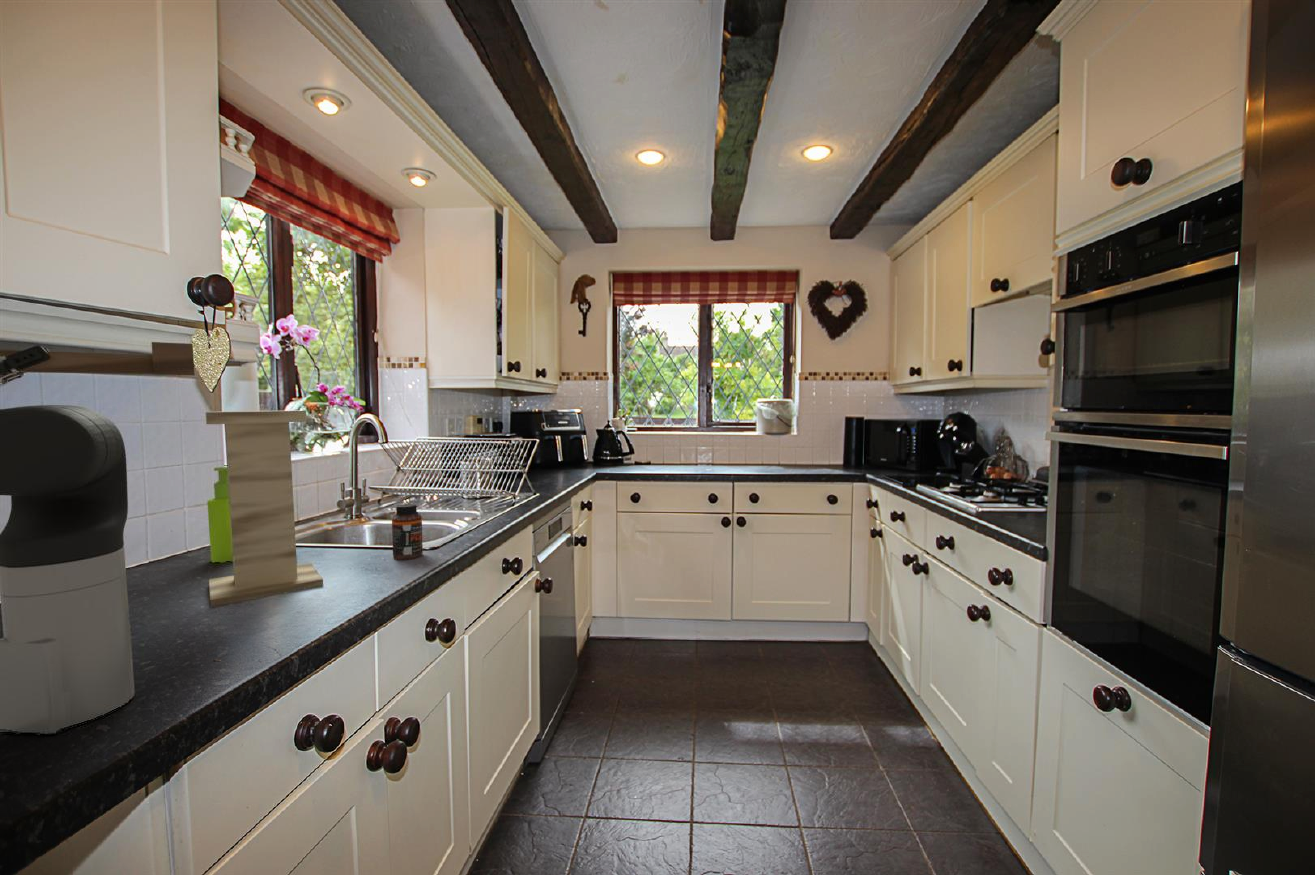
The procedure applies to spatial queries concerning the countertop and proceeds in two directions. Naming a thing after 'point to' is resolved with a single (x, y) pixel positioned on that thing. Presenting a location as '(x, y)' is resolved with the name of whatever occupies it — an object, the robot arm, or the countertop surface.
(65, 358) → the walnut bar
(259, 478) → the oak stand
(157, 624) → the countertop surface
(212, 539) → the soap dispenser
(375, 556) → the countertop surface
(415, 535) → the supplement bottle
